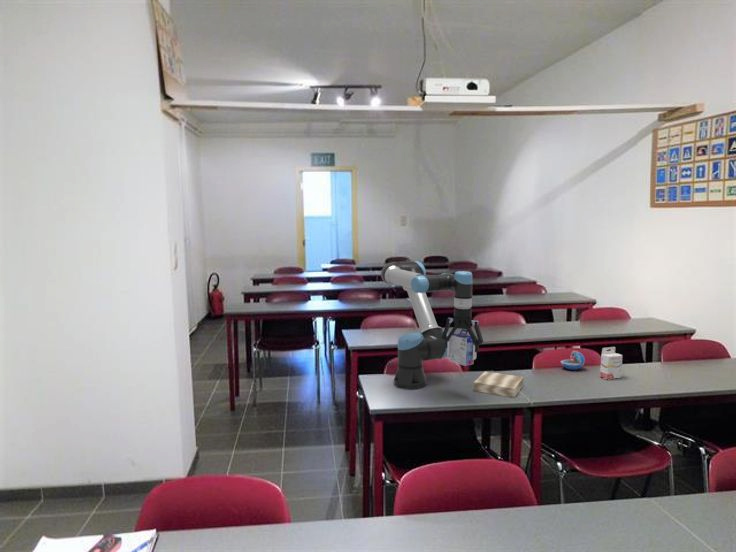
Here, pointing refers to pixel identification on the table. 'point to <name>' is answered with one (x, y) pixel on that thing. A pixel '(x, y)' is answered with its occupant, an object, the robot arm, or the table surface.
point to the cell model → (574, 361)
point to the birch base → (498, 384)
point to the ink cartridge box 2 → (610, 363)
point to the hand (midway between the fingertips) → (461, 357)
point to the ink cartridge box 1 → (461, 349)
